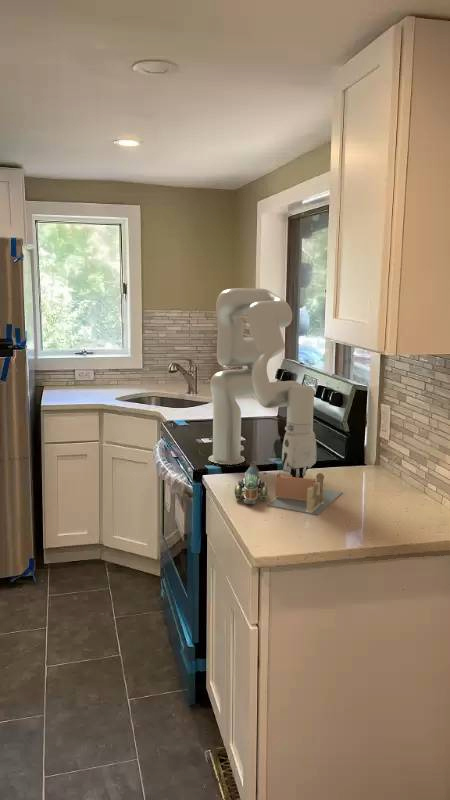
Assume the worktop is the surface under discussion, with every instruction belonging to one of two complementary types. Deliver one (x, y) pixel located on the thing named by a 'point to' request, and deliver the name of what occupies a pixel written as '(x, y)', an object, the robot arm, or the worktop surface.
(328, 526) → the worktop surface
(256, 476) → the hoverbike
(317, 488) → the fence post
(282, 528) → the worktop surface
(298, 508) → the card
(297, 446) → the robot arm
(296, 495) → the fold panel
